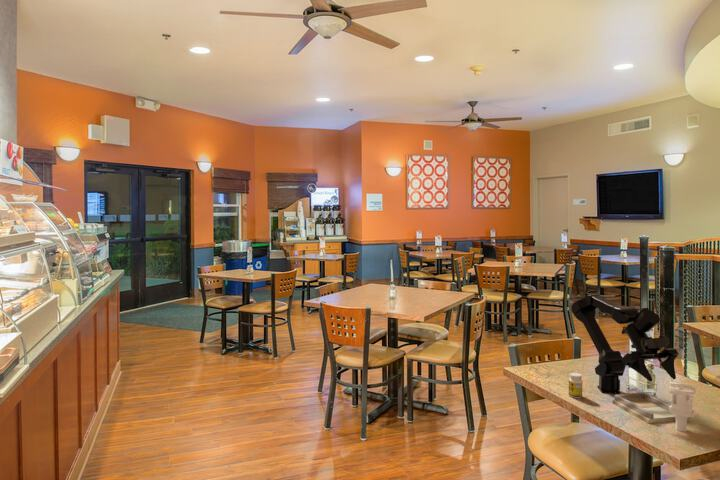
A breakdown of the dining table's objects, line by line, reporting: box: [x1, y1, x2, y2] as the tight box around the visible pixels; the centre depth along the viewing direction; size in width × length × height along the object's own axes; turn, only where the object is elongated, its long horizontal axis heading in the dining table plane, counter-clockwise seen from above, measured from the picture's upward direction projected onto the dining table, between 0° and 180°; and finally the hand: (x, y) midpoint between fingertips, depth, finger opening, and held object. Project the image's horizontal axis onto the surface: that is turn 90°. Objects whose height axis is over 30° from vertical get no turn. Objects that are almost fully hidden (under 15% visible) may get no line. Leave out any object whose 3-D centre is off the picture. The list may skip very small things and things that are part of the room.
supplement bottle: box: [568, 372, 583, 399], centre depth 186 cm, size 5×5×8 cm
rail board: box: [611, 391, 676, 424], centre depth 173 cm, size 17×14×3 cm
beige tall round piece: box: [668, 381, 697, 432], centre depth 158 cm, size 7×7×15 cm
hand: (663, 379), depth 165 cm, fingers open, 9 cm apart
